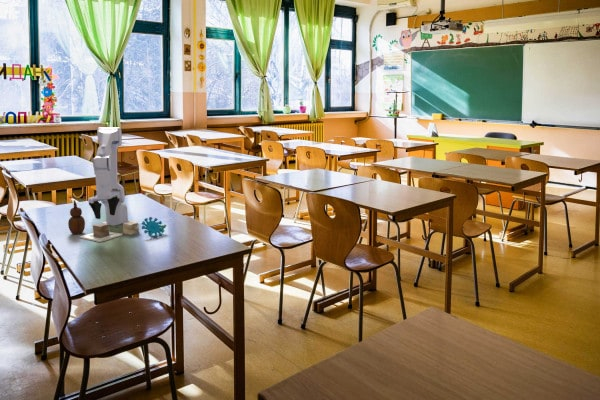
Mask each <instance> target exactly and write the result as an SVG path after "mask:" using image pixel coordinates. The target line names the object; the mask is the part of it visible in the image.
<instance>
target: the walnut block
mask: <svg viewBox="0 0 600 400" xmlns="http://www.w3.org/2000/svg"><path fill="white" fill-rule="evenodd" d="M109 232H110V225H109V224H105V223H102V222H100V223H95V224H92V233H93V235H94V236H98V237H103V236H106V235H109Z"/></svg>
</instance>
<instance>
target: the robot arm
mask: <svg viewBox="0 0 600 400" xmlns="http://www.w3.org/2000/svg"><path fill="white" fill-rule="evenodd" d="M96 133H97V140H98V143H99V144H100V145H99V146H98V147H97V151H96V155H95V157H93V159H92V166H93V171H94V172H93V173H94V175H95V186H96V188H95V189H96V195H94V196H91V197H88V199H87V200H88V201H87V202H88V206H89V207H90V208H91V210H92V212H93V214H94V218H95V219H96V220H100V219H101V217H102V216H101V212H102V211H101V209H102V205H104V207H105V208H104V210H105V221H103V222H101V223H105V224H109V226H118V225H123V223H127V222H130V220H129V217H128V216H129V215H128V213H129V212H128V206H127V205H126V204H125V199H126V198H125V197H126V196H125V188H124V186H123V185H122V184H120V183H119V181H118V148H119V147H121V146H122V143H123V142H122V141H123V137H122V135H123V134H122V133H123V132H122V128H121V127H120V126H118V127H116V126H115V127H113V126H109V127H108V126H107V127H106V126H105V127H101V126H98V128H97V132H96Z"/></svg>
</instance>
